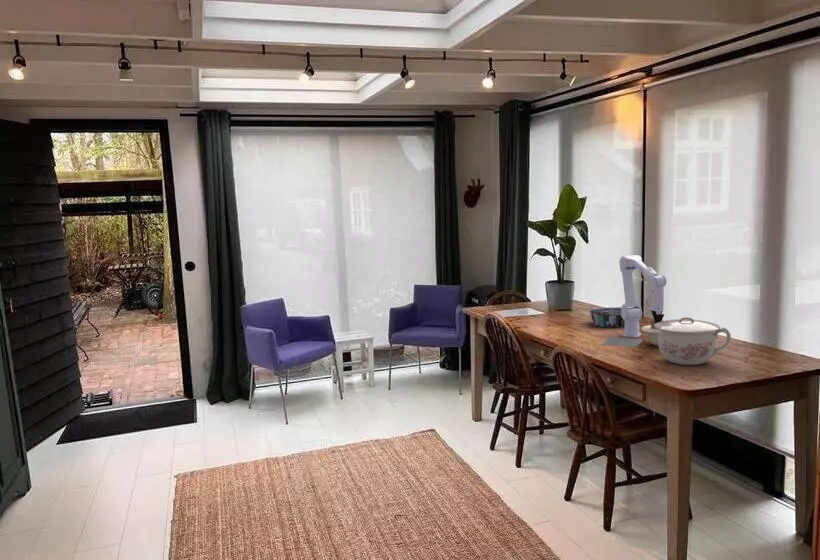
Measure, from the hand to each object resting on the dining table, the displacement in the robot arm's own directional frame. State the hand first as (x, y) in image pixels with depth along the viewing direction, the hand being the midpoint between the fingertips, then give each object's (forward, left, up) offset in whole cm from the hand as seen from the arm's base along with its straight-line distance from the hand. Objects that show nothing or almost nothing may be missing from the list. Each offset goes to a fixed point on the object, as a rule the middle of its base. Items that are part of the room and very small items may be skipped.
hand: (657, 325), depth 307 cm
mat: (0, -17, -10) cm, 20 cm away
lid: (0, 0, -2) cm, 2 cm away
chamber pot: (+28, +17, -10) cm, 34 cm away
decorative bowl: (-45, -32, -10) cm, 56 cm away
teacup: (0, 0, -10) cm, 10 cm away
